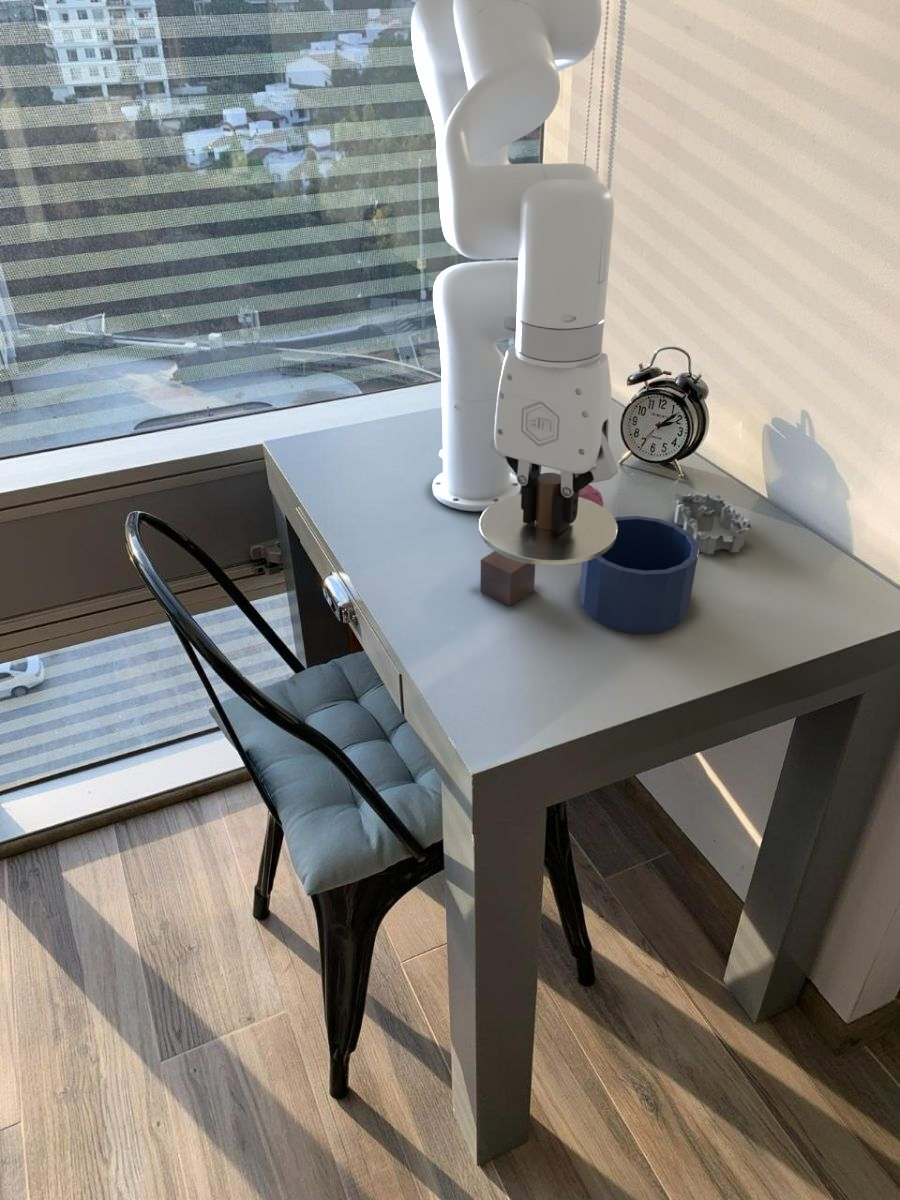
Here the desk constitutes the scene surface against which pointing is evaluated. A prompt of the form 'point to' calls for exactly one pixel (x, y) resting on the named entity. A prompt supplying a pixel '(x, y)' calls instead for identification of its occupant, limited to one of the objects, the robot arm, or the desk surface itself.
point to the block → (506, 578)
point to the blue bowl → (641, 577)
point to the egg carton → (711, 522)
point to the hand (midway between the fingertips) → (548, 520)
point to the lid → (547, 529)
